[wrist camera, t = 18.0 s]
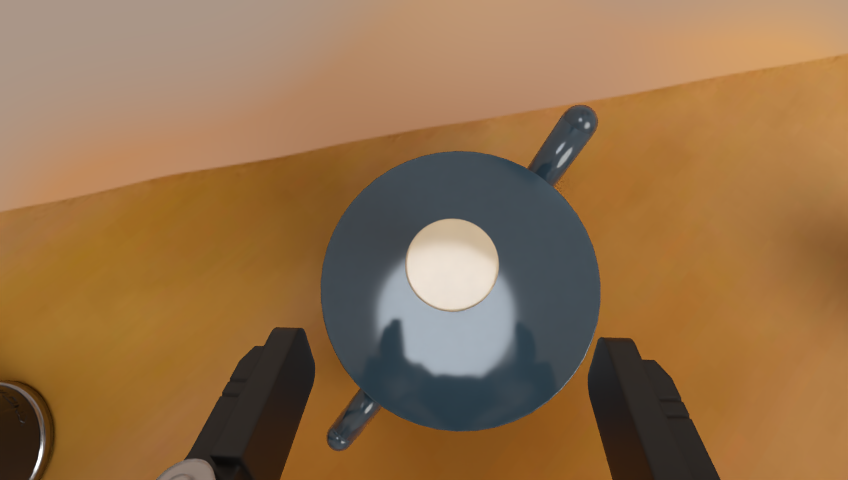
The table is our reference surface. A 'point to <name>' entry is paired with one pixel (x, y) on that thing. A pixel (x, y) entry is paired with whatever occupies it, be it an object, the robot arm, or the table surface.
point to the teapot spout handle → (546, 164)
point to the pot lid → (460, 291)
